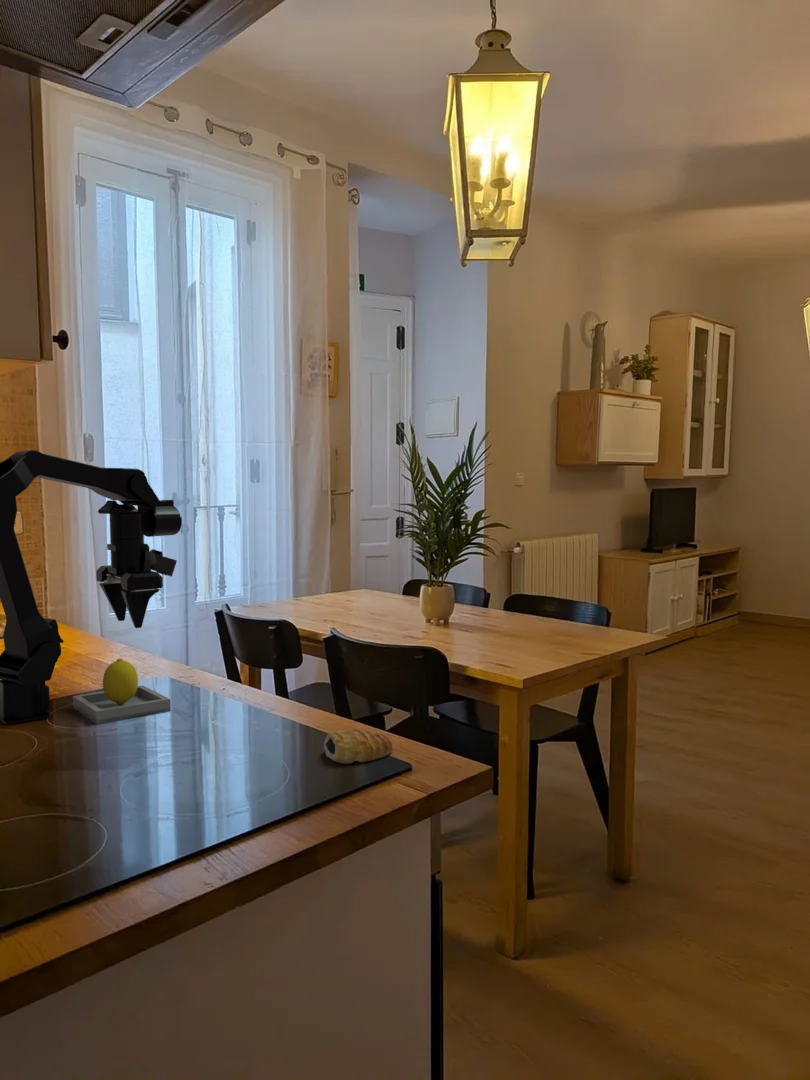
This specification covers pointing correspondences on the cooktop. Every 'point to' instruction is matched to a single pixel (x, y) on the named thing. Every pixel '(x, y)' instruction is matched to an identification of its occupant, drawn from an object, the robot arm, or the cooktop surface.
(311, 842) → the cooktop surface
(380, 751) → the pastry
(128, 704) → the dish
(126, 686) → the lemon
